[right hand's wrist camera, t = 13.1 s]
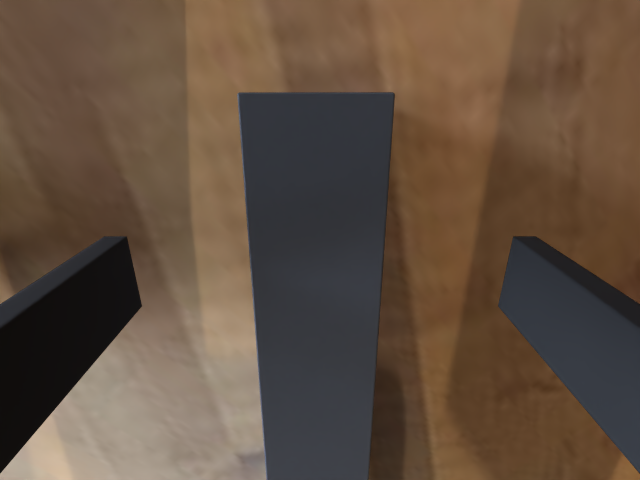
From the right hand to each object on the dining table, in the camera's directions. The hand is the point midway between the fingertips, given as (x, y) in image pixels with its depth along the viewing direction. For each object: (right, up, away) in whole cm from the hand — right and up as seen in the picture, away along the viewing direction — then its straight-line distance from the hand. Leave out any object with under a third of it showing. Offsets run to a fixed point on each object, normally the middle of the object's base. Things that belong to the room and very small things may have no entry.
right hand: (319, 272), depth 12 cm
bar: (0, -24, +18) cm, 30 cm away
